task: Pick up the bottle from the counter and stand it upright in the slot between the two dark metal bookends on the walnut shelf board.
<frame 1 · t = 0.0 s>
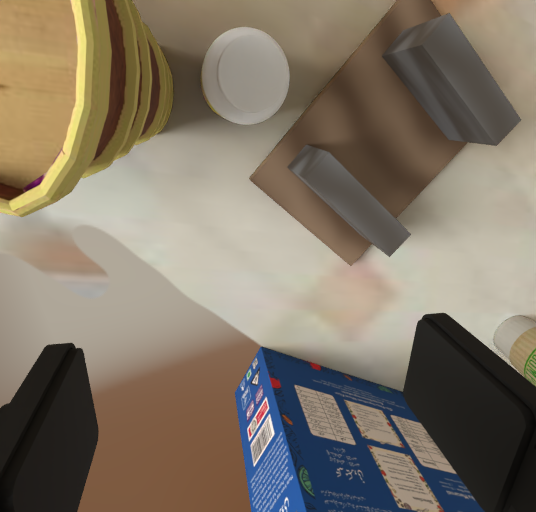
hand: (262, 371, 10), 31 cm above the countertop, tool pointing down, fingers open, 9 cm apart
supplement bottle: (234, 84, 36), on the countertop
blue cereal box: (332, 394, 54), on the countertop
coffee cup: (511, 332, 55), on the countertop
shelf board: (373, 140, 40), on the countertop
decorative book: (45, 77, 33), on the countertop
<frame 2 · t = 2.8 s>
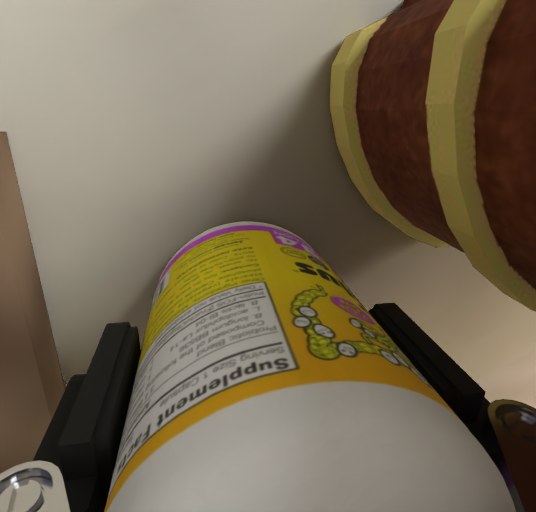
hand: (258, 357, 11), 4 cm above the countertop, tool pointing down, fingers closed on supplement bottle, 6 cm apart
supplement bottle: (243, 295, 14), on the countertop, touching gripper
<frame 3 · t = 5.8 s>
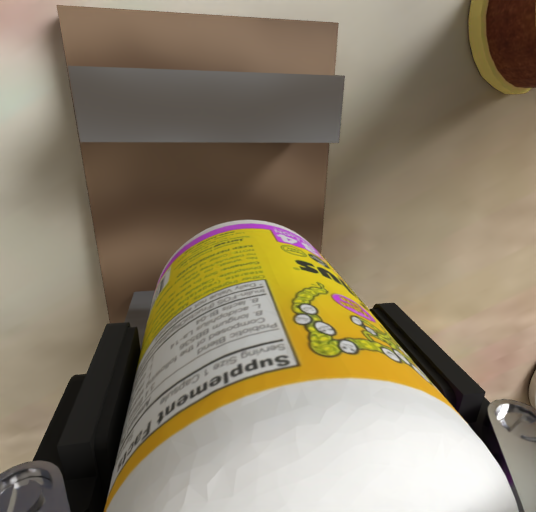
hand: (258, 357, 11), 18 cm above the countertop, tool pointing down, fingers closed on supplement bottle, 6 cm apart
supplement bottle: (243, 293, 14), point 14 cm above the countertop, touching gripper
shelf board: (213, 210, 27), on the countertop
when the fingers open (6 cm above the countertop, at t = 8.9 s): supplement bottle drops 1 cm, resting on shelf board.
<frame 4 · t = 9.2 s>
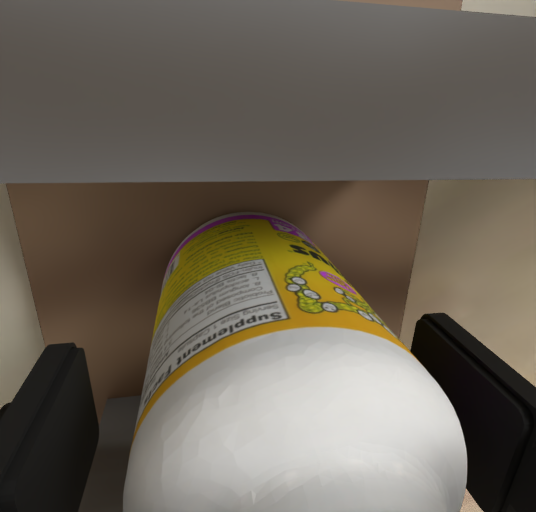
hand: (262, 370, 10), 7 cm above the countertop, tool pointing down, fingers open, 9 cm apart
supplement bottle: (244, 280, 16), point 1 cm above the countertop, touching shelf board
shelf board: (235, 267, 17), on the countertop
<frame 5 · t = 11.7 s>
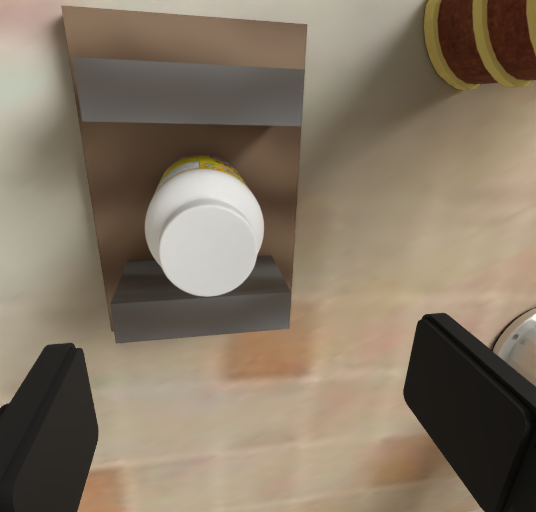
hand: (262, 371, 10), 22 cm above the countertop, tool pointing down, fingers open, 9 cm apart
supplement bottle: (202, 194, 29), point 1 cm above the countertop, touching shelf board
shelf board: (198, 189, 30), on the countertop
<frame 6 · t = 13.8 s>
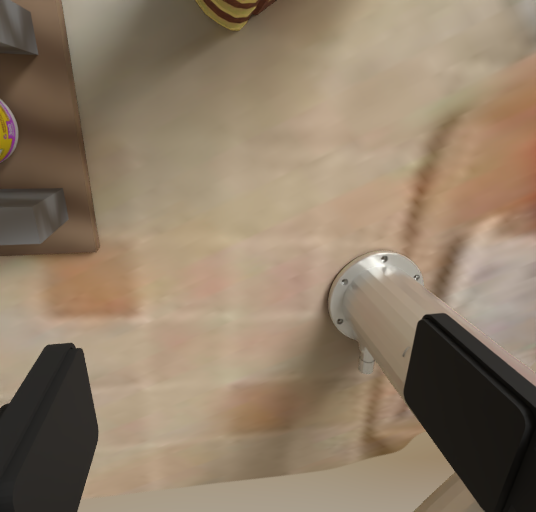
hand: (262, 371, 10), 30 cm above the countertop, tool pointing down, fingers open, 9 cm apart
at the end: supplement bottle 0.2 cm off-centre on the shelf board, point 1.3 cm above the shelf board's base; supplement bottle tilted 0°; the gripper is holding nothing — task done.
